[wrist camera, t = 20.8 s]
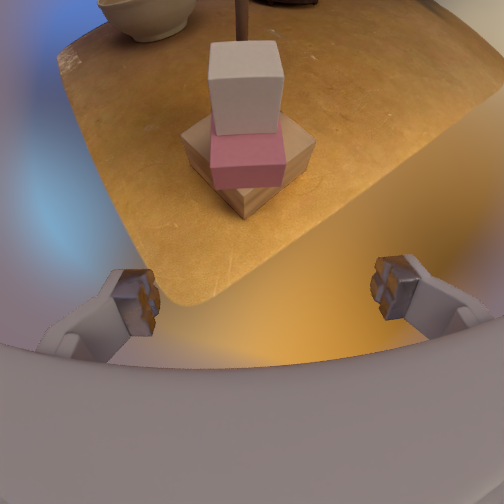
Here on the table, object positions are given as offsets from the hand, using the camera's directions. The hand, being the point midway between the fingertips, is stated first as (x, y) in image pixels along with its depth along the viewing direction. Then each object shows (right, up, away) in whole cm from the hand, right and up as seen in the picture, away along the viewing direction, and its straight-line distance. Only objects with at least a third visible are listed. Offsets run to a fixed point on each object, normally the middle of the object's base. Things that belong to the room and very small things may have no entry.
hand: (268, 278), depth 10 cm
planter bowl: (-16, +38, +23) cm, 48 cm away
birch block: (-1, +9, +16) cm, 19 cm away
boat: (-1, +10, +11) cm, 15 cm away
